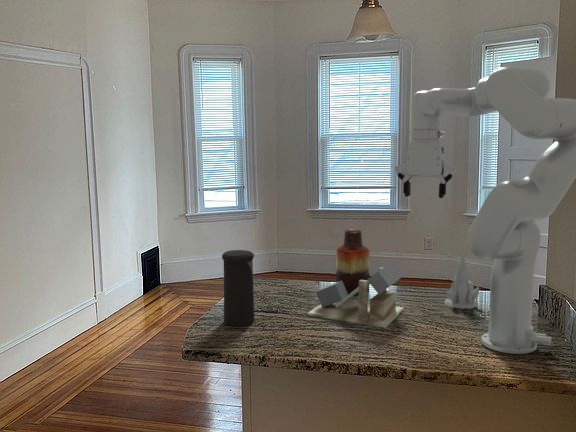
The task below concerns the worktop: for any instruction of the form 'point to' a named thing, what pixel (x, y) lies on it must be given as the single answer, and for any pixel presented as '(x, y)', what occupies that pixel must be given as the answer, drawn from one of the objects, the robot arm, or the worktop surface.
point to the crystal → (462, 290)
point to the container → (238, 287)
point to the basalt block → (331, 294)
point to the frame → (363, 308)
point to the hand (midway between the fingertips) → (424, 196)
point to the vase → (352, 261)
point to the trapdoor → (379, 280)
